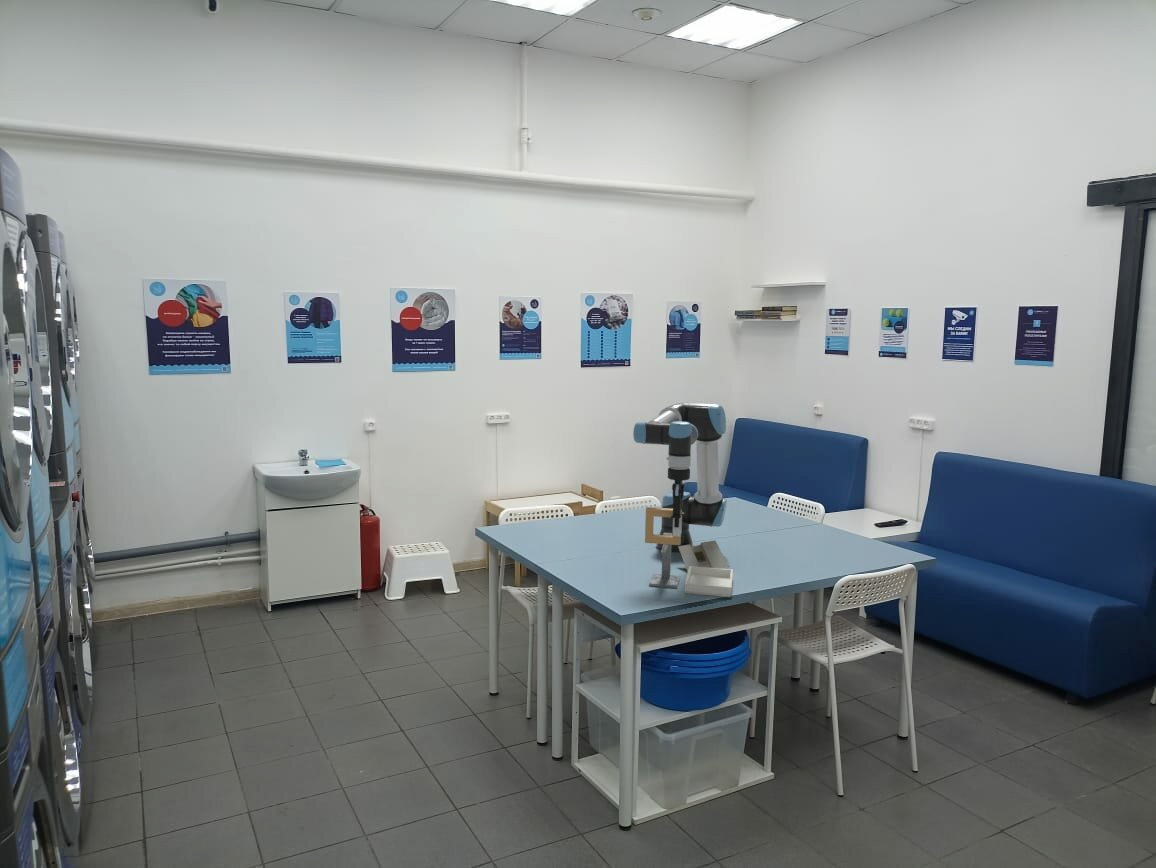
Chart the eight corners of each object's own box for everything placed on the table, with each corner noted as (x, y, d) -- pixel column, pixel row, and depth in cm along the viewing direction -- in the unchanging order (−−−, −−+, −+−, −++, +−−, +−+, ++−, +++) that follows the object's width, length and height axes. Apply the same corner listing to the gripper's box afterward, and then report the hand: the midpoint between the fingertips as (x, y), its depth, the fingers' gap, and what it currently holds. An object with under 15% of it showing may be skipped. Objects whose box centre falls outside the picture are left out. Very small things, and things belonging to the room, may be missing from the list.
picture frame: (645, 540, 282) (646, 507, 281) (680, 543, 280) (681, 509, 278) (644, 542, 280) (645, 508, 278) (679, 545, 277) (680, 510, 276)
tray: (689, 575, 304) (689, 566, 303) (732, 578, 301) (732, 569, 300) (684, 593, 283) (684, 583, 282) (731, 597, 279) (731, 587, 279)
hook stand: (652, 576, 302) (654, 531, 300) (679, 578, 300) (681, 533, 298) (647, 589, 287) (649, 542, 284) (676, 591, 285) (677, 544, 282)
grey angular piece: (727, 578, 315) (715, 546, 324) (730, 566, 308) (718, 534, 317) (686, 586, 313) (675, 553, 322) (688, 574, 306) (677, 541, 316)
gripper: (670, 463, 284) (668, 528, 287) (665, 471, 268) (663, 540, 272) (691, 464, 282) (689, 529, 285) (688, 472, 267) (686, 541, 270)
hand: (676, 534), depth 278 cm, fingers closed on picture frame, 2 cm apart
